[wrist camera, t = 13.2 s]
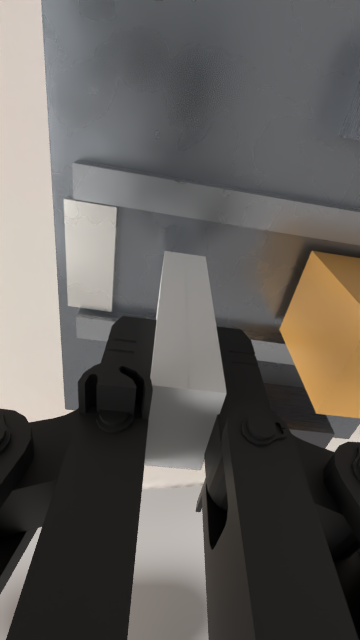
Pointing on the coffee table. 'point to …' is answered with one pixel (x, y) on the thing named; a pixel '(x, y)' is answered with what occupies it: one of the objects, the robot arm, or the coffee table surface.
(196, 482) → the coffee table surface
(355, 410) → the slider
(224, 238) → the panel
